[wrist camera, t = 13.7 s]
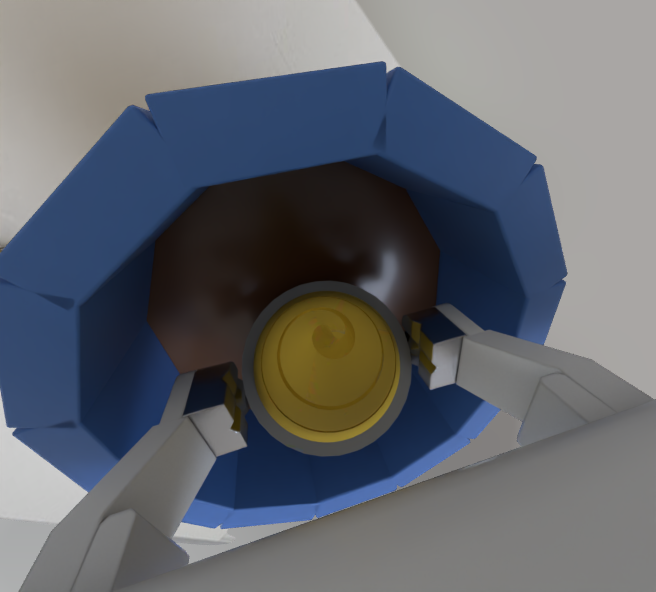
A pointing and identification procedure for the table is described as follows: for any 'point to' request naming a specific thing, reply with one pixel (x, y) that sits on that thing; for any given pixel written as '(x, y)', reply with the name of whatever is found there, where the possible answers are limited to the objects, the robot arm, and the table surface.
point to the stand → (283, 255)
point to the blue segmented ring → (239, 164)
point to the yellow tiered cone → (326, 368)
